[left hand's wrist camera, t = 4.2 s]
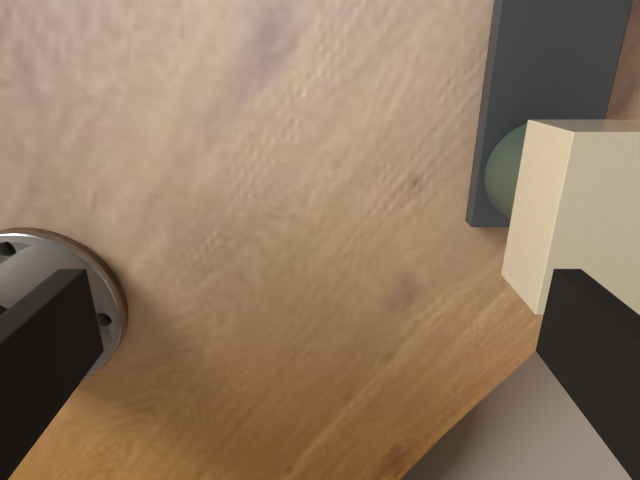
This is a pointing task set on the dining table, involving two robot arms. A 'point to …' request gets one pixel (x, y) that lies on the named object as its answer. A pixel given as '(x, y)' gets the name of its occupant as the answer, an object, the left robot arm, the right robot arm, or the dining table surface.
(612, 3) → the grey base with post
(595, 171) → the beige square block
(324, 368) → the dining table surface
